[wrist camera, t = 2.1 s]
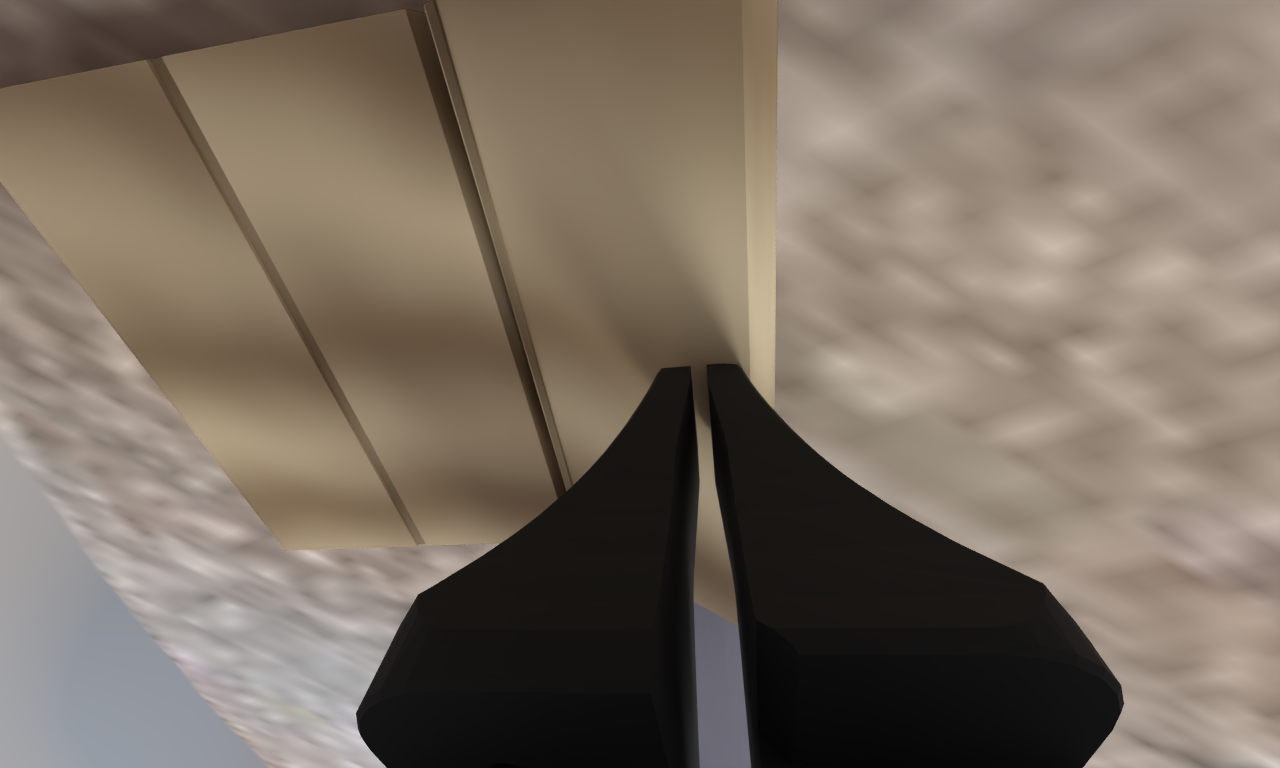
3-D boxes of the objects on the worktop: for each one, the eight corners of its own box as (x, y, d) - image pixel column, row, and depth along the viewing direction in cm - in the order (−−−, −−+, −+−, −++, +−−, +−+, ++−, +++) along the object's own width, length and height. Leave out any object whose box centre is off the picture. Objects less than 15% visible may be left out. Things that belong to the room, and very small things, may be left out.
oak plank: (772, 603, 15) (755, 638, 14) (601, 519, 19) (579, 542, 18) (778, -106, 7) (736, -122, 6) (471, 5, 11) (419, 5, 10)
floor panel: (576, 516, 19) (570, 540, 18) (304, 527, 21) (285, 550, 20) (430, 15, 11) (404, 8, 10) (-3, 98, 13) (-63, 100, 12)
